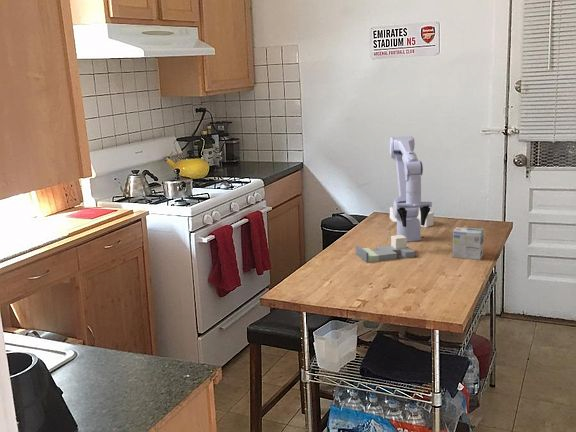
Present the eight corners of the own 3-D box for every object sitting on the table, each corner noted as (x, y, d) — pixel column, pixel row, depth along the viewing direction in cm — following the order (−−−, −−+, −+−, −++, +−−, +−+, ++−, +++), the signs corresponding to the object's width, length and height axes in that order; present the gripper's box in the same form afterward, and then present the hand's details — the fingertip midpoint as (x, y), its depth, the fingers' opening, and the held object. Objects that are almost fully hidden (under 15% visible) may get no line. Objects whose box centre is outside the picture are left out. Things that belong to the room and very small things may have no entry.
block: (401, 244, 266) (401, 234, 265) (406, 247, 261) (406, 237, 260) (391, 245, 264) (391, 235, 264) (395, 248, 260) (395, 238, 259)
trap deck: (402, 249, 267) (402, 240, 266) (414, 256, 256) (414, 247, 256) (356, 254, 262) (355, 245, 261) (366, 262, 252) (366, 253, 251)
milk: (426, 214, 296) (385, 207, 311) (426, 227, 298) (385, 220, 312) (434, 212, 300) (393, 205, 315) (433, 225, 302) (393, 217, 317)
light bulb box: (483, 255, 256) (484, 228, 253) (480, 260, 250) (481, 232, 247) (455, 252, 260) (456, 226, 258) (451, 257, 254) (452, 230, 252)
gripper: (399, 194, 255) (399, 228, 257) (435, 192, 258) (434, 226, 260) (393, 191, 262) (393, 225, 264) (427, 189, 264) (427, 223, 267)
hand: (413, 225), depth 262 cm, fingers open, 7 cm apart
